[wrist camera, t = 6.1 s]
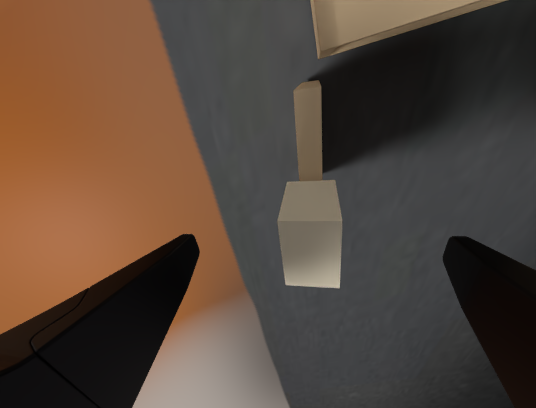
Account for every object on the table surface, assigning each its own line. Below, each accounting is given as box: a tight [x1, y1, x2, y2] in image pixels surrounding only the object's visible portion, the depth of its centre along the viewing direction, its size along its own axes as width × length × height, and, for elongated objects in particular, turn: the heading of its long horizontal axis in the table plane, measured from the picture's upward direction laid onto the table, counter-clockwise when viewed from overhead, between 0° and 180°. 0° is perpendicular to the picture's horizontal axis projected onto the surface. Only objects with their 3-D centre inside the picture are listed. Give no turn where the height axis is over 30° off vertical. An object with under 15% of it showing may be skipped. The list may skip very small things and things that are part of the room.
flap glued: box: [277, 80, 342, 288], centre depth 11 cm, size 2×6×10 cm, turn 6°
